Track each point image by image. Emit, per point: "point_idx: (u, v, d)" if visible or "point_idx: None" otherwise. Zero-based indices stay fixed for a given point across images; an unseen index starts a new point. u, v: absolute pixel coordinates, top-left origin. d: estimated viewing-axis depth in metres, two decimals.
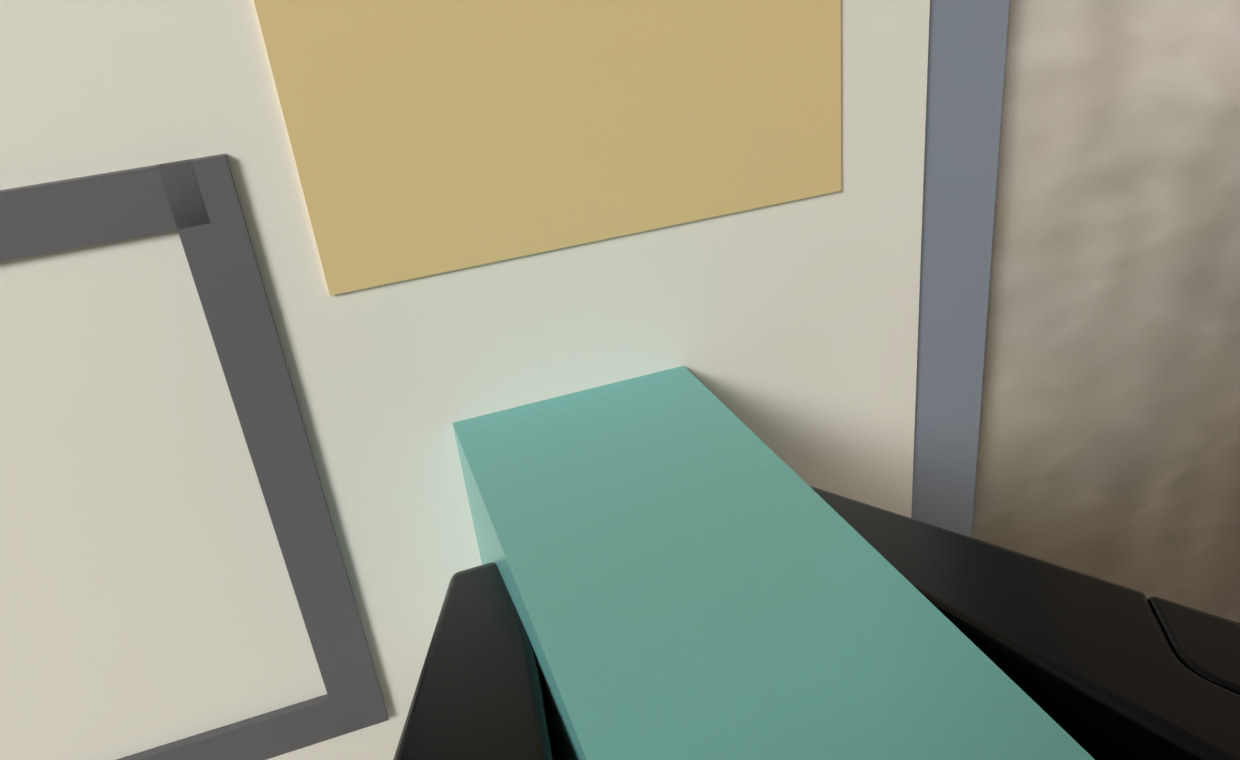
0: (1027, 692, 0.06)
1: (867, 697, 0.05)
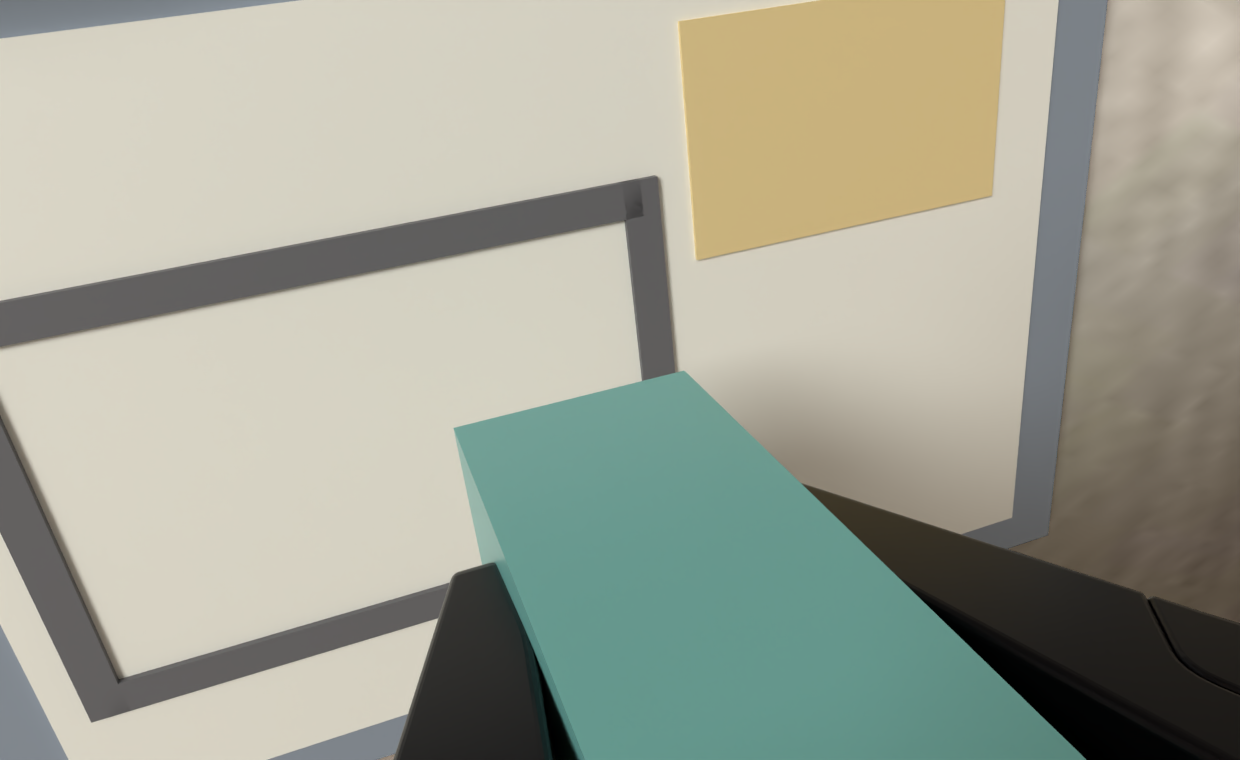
0: (1026, 692, 0.06)
1: (868, 705, 0.05)
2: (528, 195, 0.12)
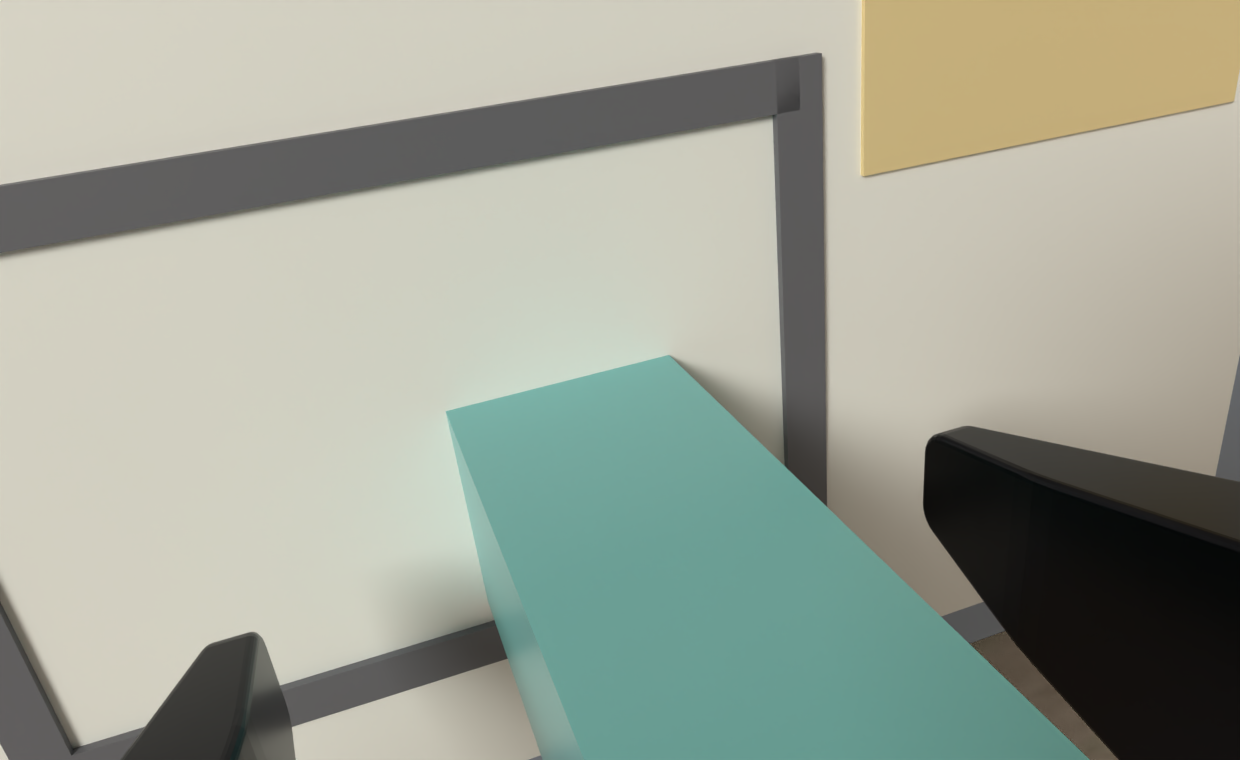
0: None
1: (831, 658, 0.06)
2: (645, 74, 0.09)
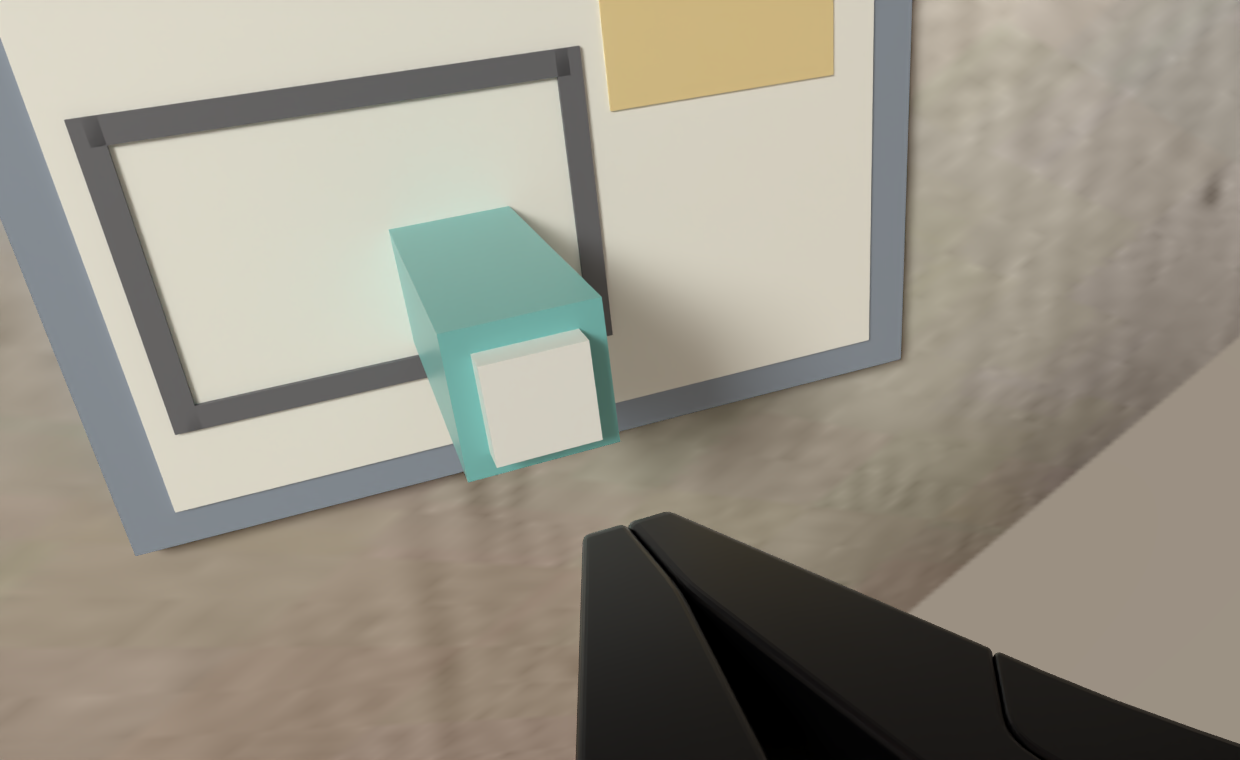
0: (859, 756, 0.05)
1: (525, 281, 0.14)
2: (487, 56, 0.17)
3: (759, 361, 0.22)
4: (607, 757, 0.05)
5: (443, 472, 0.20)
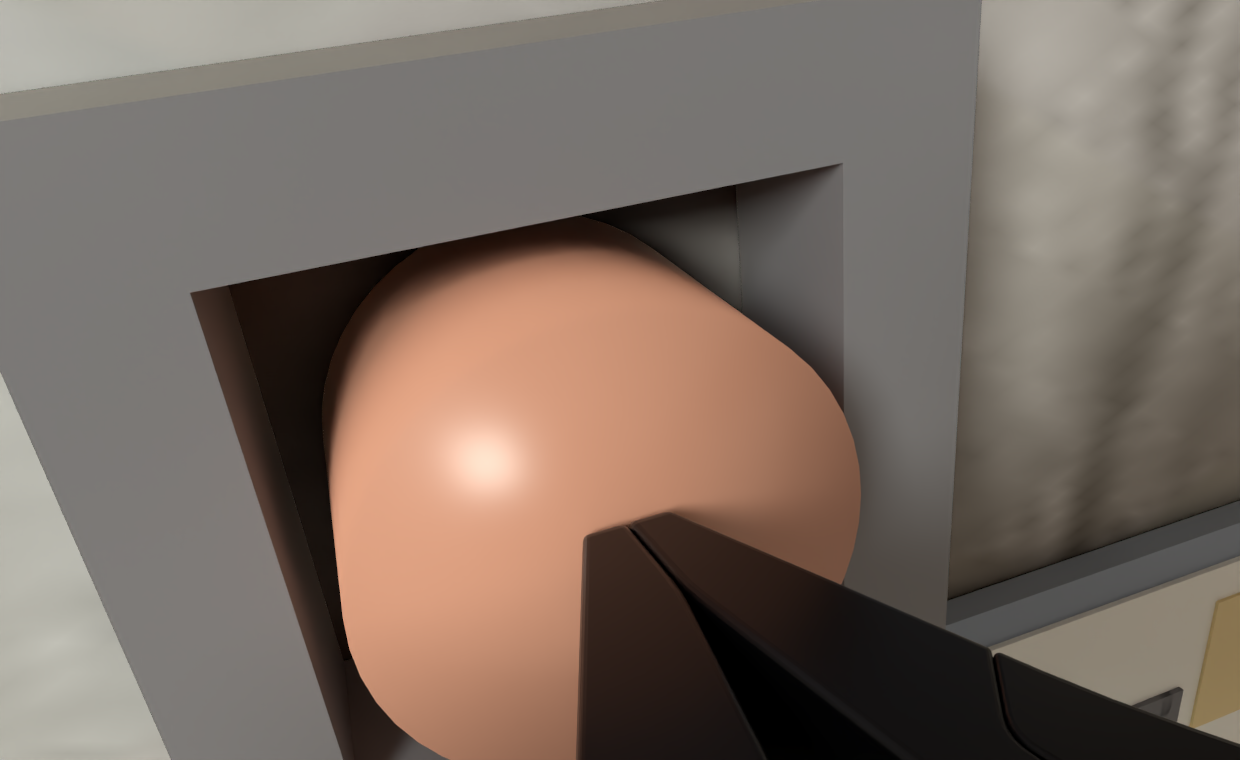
0: (858, 756, 0.05)
1: None
2: None
3: None
4: (607, 757, 0.05)
5: None
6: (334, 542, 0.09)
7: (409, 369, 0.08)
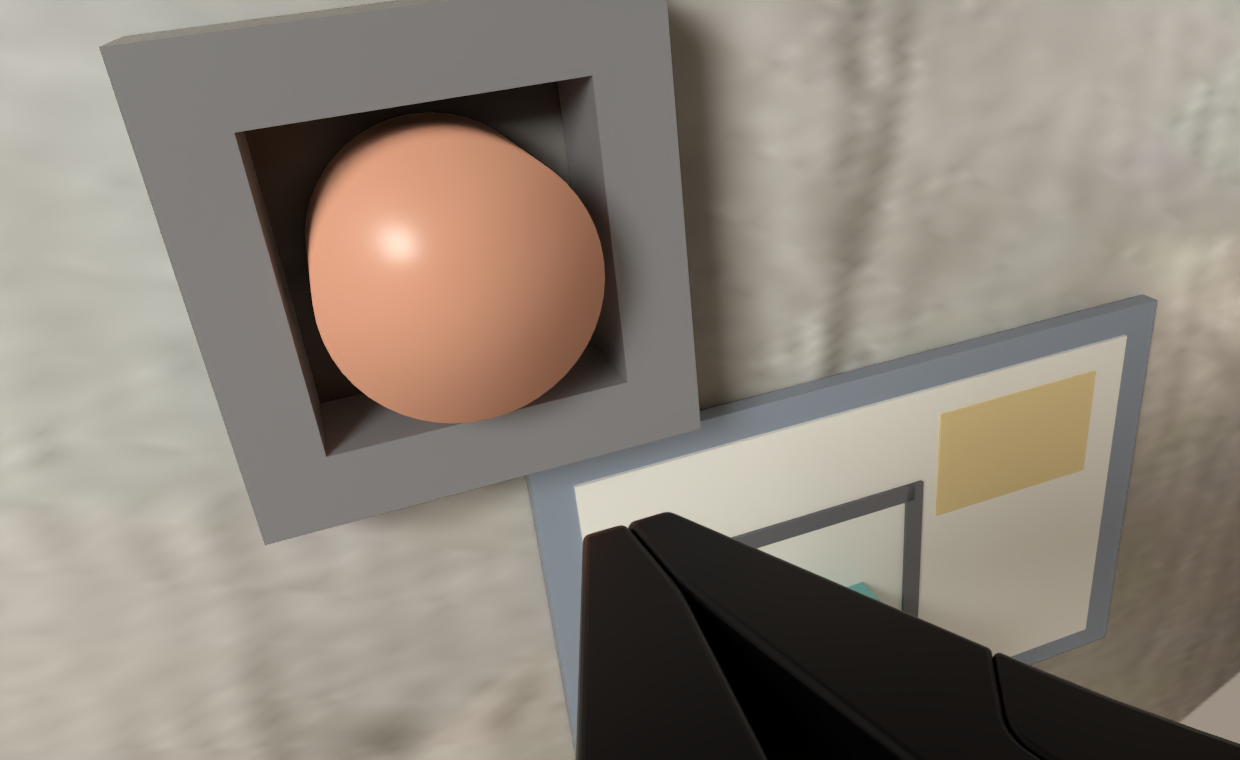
0: (858, 756, 0.05)
1: None
2: (863, 494, 0.25)
3: (1009, 653, 0.29)
4: (607, 757, 0.05)
5: None
6: None
7: (348, 178, 0.15)
